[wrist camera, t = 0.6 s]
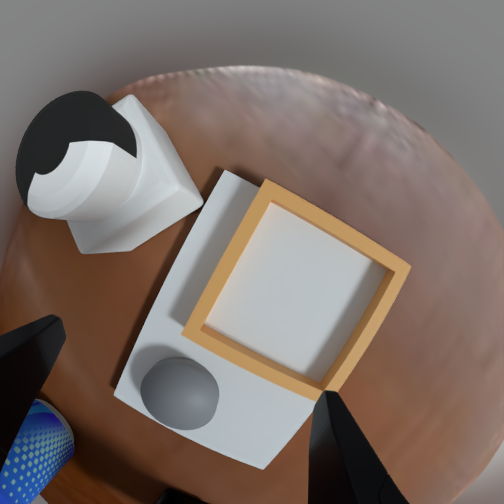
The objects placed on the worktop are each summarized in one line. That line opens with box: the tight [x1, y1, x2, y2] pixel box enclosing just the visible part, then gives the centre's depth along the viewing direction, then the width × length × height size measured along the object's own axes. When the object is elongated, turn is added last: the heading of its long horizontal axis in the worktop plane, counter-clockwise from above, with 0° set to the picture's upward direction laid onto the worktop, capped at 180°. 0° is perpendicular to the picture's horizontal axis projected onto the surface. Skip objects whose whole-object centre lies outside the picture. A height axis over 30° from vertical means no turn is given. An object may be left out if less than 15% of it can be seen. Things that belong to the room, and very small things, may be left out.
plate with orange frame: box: [114, 170, 412, 469], centre depth 20 cm, size 22×15×2 cm
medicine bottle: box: [16, 91, 204, 254], centre depth 16 cm, size 7×7×12 cm
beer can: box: [0, 399, 74, 504], centre depth 15 cm, size 8×8×16 cm
